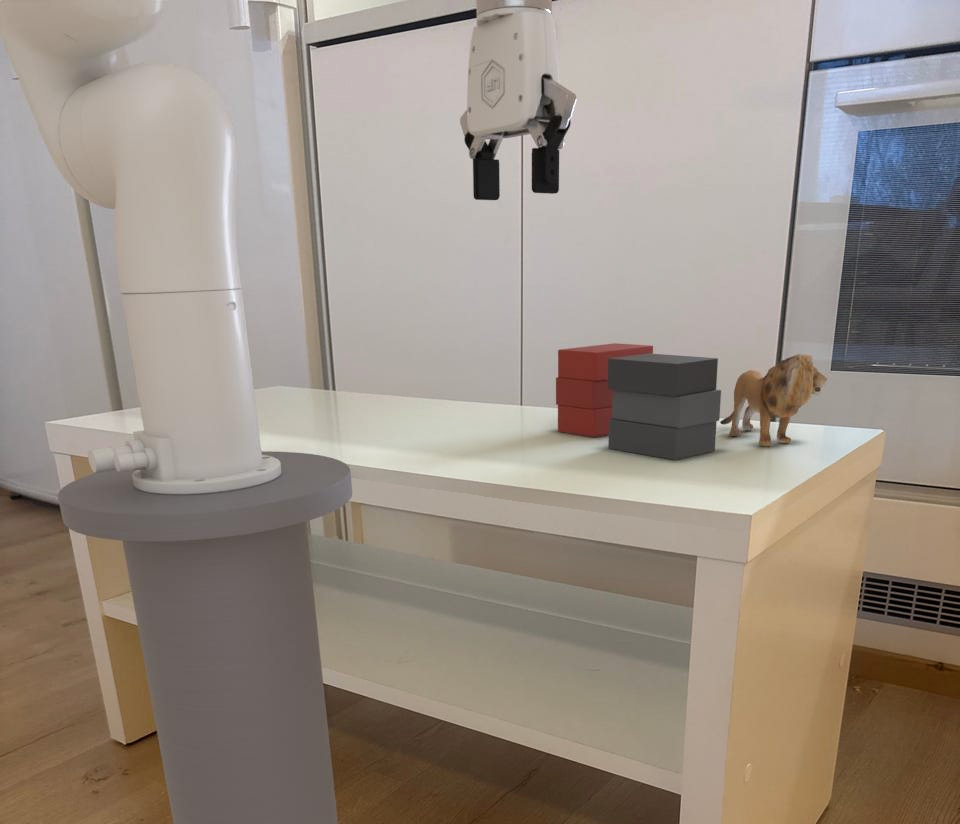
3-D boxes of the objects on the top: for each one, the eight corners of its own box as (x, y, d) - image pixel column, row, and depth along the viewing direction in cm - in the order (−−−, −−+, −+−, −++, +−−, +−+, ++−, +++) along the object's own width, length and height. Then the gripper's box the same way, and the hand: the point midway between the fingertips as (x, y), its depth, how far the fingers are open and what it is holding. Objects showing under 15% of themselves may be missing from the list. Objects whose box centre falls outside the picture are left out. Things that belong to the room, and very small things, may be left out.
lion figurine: (827, 447, 95) (837, 354, 91) (783, 452, 93) (791, 357, 89) (739, 426, 107) (745, 343, 104) (699, 430, 106) (703, 346, 102)
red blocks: (650, 426, 109) (652, 373, 107) (593, 437, 104) (594, 381, 102) (611, 421, 114) (612, 369, 111) (555, 431, 108) (555, 377, 106)
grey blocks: (675, 460, 91) (679, 364, 88) (606, 448, 98) (607, 358, 94) (717, 451, 95) (723, 358, 91) (648, 440, 101) (651, 352, 98)
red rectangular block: (652, 373, 107) (653, 345, 106) (595, 381, 102) (596, 352, 101) (614, 369, 111) (614, 343, 110) (557, 377, 106) (557, 349, 105)
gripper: (433, 19, 98) (438, 201, 104) (542, -21, 85) (541, 189, 91) (490, 29, 102) (492, 203, 108) (602, -9, 89) (597, 191, 95)
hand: (514, 196), depth 100 cm, fingers open, 9 cm apart
